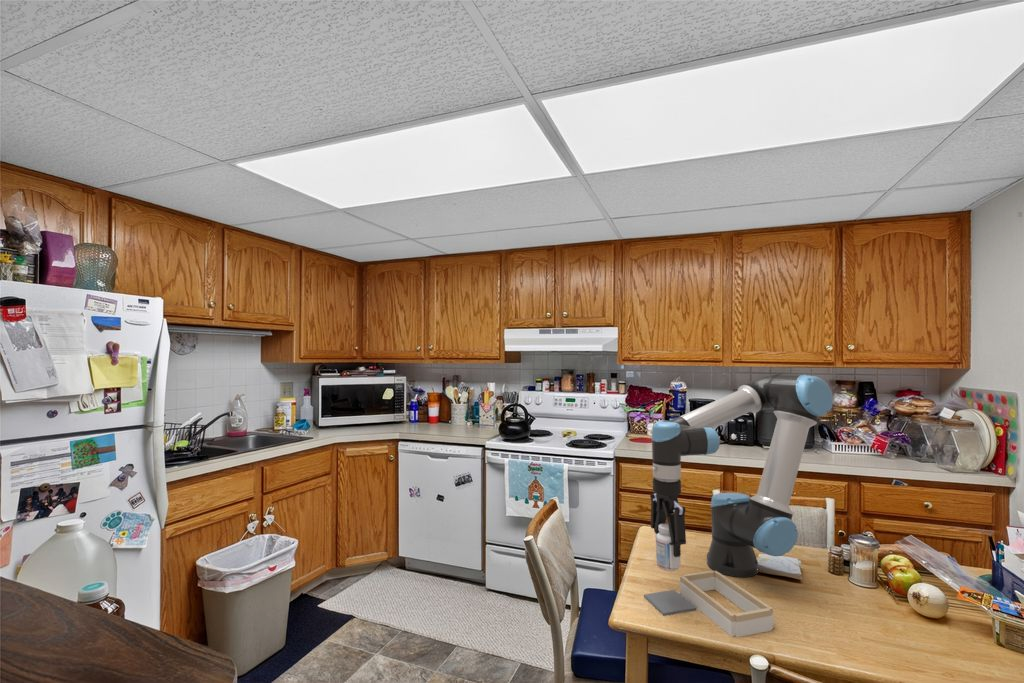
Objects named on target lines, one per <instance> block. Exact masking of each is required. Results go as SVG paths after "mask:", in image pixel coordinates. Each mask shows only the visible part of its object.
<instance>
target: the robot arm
mask: <svg viewBox="0 0 1024 683" xmlns="http://www.w3.org/2000/svg"><path fill="white" fill-rule="evenodd" d="M832 407H833V393H832V389H830V386H829V385H828V383H827V382H826V381H825V380H824V379H822V378H821V377H820V376H819V377H818V376H815V375H808V374H787V373H785V374H784V373H772V374H769V375H765V376H762V377H759V378H757V379H756V378H755V379H754V380H751V381H749V382H747V383H744V384H743V385H740V386H739V387H738V388H737V390H736V391H734V392H732V393H729V394H727V395H725V396H723V397H721V398H718V399H717V400H714V401H712V402H710V403H707V404H705V405H703V406H700V407H698V408H696V409H694V410H692V411H689V412H687V413H685V414H683V415H680V416H678V417H675V418H673V419H671V420H666V419H665V420H664V419H659V420H658V421H656V422H654V423H653V425H652V427H651V428H652V429H651V450H652V451H651V452H652V453H651V454H652V456H651V457H652V467H651V470H652V476H653V478H652V491H653V493H651V494H650V528H651V529H653V531H654V533H655V536H656V535H657V534H658V533H659V530H658V526H659V525H660V524H664V523H667V524H668V525H669V531H670V536H671V542H670V543H669V544H670V568H671V569H673V568H679V569H680V568H681V555H682V554H681V552H682V551H681V550H682V549H681V547H682V545H686V544H687V535H686V521H685V515H686V507H685V506H681V505H680V504H679V500H678V496H679V495H681V494H682V481H681V478H682V468H681V467H682V462H681V461H682V460H681V459H682V457H688V456H706V455H710V454H714V453H717V451H719V449H720V443H721V442H720V436H719V434H718V432H717V431H716V430H715V428H718V427H720V426H721V425H724V424H726V423H728V422H730V421H733V420H735V419H737V418H739V417H742V416H744V415H746V414H748V413H753V414H756V413H758V412H761V411H764V410H765V411H766V410H773V414H774V415H775V417H776V419H777V420H776V422H775V425H774V426H775V427H774V432H773V434H772V438H771V441H770V446H769V449H768V453H767V456H766V460H765V463H764V467H763V470H762V473H761V474H762V475H761V477H760V481H759V485H758V489H757V492H756V494H755V495H753V496H751V497H750V495H748V494H745V493H739V492H721V493H715V494H714V495H713V496H711V504H710V513H711V514H710V516H711V542H710V545H709V549H708V552H707V554H706V564H707V566H708V567H709V568H710V569H711V570H712V571H717V572H719V573H720V574H722V575H724V576H725V575H727V576H730V577H734V578H735V577H736V578H748V577H753V576H756V575H757V574H759V571H758V570H759V562H758V559H757V555H756V554H755V549H756V550H757V551H758V552H760V553H763V554H766V555H768V556H771V557H782V556H784V555H786V554H788V553H790V551H791V550H793V548H794V547H795V545H796V543H797V540H798V535H799V534H798V532H799V530H798V529H797V526H796V524H795V523H794V522H793V520H792V519H793V515H794V513H793V511H792V509H791V508H790V503H791V499H792V494H793V492H794V489H795V488H794V487H795V483H796V480H797V476H798V472H799V468H800V465H801V461H802V457H803V453H804V449H805V446H806V443H807V438H808V435H809V434H808V433H809V430H810V428H811V427H813V426H816V425H817V424H818V421H819V417H823V416H825V415H826V414H827V413H829V412H830V410H831V409H832ZM666 521H667V522H666ZM655 556H656V558H657V553H656V552H655ZM757 569H758V570H757Z"/></svg>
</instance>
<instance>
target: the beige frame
mask: <svg viewBox="0 0 1024 683" xmlns="http://www.w3.org/2000/svg"><path fill="white" fill-rule="evenodd" d="M712 590H713V591H714V590H715V591H717V592H718V594H721V596H723V597H724V598H726V599H727V600H729V601H730V602H731V603H733V604H734V605H736V606H737V607H738V608H740V609H741V610H742V611H743V612H738V613H737V612H736V613H733V612H732V611H730V610H729V609H727V608H726V607H725V606H723V605H722V604H721V603H719V602H718V601H717V600H716V599H715V598H713V597H711V596H710V595H709V594H708V593H706V591H707V592H708V591H712ZM679 594H680V595H682V596H683V597H684V598H685V599H686V600H688V601H689V602H690V603H691V604H692V605H694V606H695V607H696V609H697V610H698V611H700V612H701V613H702V614H704V615H705V616H706V617H707V618H709V620H711V621H712V622H713V623H714V624H716V625H717V626H718V627H719V628H720V629H722V630H723V631H724V632H725V633H726V634H727V635H729V636H730V637H736V638H741V637H745V636H752V635H755V634H761V633H766V632H771V631H772V630H773V629H774V610H773V609H774V608H773V607H771V606H770V605H769V604H767V603H765V602H764V601H763V600H761V599H759V598H758V597H757V596H756V595H754V594H752V593H750V592H749V591H747V590H746V589H744V588H743V587H742V586H740V585H739V584H737V583H735V582H734V581H732V580H731V579H730V578H728V577H727V576H725V575H724V574H722V573H719V572H717V571H715V570H707V571H700V572H693V573H687V574H682V575H680V576H679Z"/></svg>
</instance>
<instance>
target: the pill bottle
mask: <svg viewBox="0 0 1024 683" xmlns="http://www.w3.org/2000/svg"><path fill="white" fill-rule="evenodd" d="M658 530H659V533H658V534H657V535H656V534H655V554H656V553H657V557H656V566H657V567H658V568H659V569H660V570H662V571H666V572H676V571H678V570H679V569H680V568H673V569H671V568H670V544H669V543H670V542H671V536H670V531H669V525H668V523H667V522H665V523H664V524H660V525H659V526H658Z"/></svg>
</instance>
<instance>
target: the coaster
mask: <svg viewBox="0 0 1024 683" xmlns="http://www.w3.org/2000/svg"><path fill="white" fill-rule="evenodd" d="M643 598H644V599H645V600H646V601H647V602H649V603H650V604H651V605H652V606H653V607H654V608H655V609H656V610H657V611H658V612H659V613H660V614H661V615H662V616H670V615H675V614H680V613H686V612H687V613H688V612H691V611H692V612H693V611H697V608H696V607H695V606H694V605H693V604H692V603H690V602H689V601H688V600H687V599H686V598H684V597H683V596H682V595H681V594H680V592H678V591H677V590H676V589H669V590H664V591H663V590H662V591H658V592H657V591H656V592H652V593H645V594H643Z"/></svg>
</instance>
